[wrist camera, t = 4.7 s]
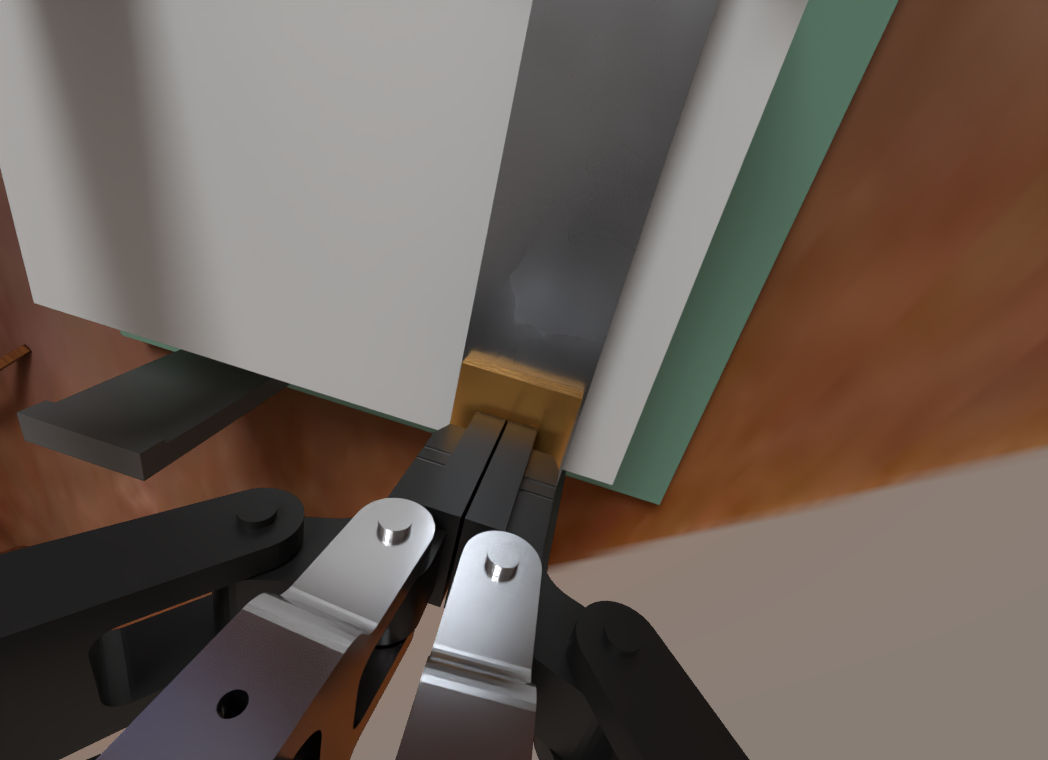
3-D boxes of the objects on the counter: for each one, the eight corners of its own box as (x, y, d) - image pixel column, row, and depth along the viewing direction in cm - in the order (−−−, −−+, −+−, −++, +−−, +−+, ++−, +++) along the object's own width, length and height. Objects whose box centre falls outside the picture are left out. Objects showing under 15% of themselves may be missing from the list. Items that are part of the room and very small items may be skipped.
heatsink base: (46, -337, 13) (-675, -952, 6) (955, -154, 11) (1543, -714, 4) (141, 327, 22) (-97, 409, 15) (658, 489, 20) (674, 673, 13)
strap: (613, -295, 8) (610, -436, 6) (798, -260, 7) (853, -393, 6) (448, 490, 15) (424, 534, 13) (541, 520, 15) (529, 569, 13)
